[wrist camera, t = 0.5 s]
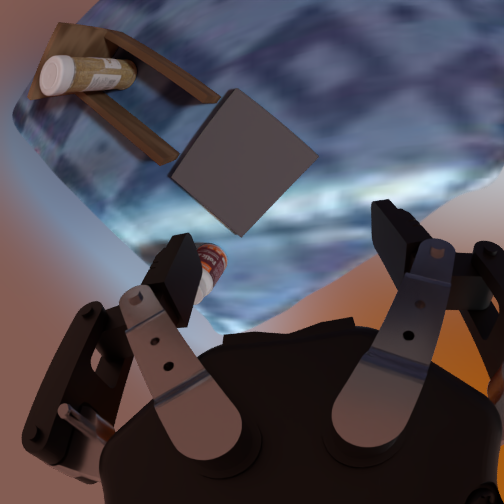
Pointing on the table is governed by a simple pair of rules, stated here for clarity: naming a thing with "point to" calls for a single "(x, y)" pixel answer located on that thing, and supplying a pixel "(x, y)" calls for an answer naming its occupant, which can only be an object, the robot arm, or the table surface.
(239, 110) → the rubber mat
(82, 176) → the table surface
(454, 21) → the table surface
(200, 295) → the pill bottle
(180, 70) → the shelf lane
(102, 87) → the sprinkles bottle
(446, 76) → the table surface
